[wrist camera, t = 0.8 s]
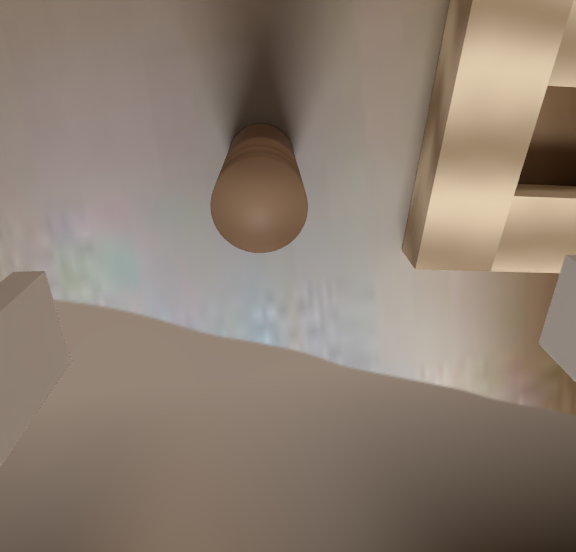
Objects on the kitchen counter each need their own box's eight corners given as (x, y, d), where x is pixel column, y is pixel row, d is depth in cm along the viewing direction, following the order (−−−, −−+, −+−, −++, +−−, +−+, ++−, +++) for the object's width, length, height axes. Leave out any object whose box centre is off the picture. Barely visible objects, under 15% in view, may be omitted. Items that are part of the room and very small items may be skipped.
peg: (228, 121, 25) (208, 157, 16) (295, 125, 25) (311, 161, 17) (229, 187, 27) (212, 251, 18) (291, 190, 27) (304, 254, 18)
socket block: (455, -27, 22) (480, -38, 20) (735, -6, 23) (795, -14, 21) (401, 250, 30) (415, 269, 27) (616, 256, 31) (650, 275, 28)
